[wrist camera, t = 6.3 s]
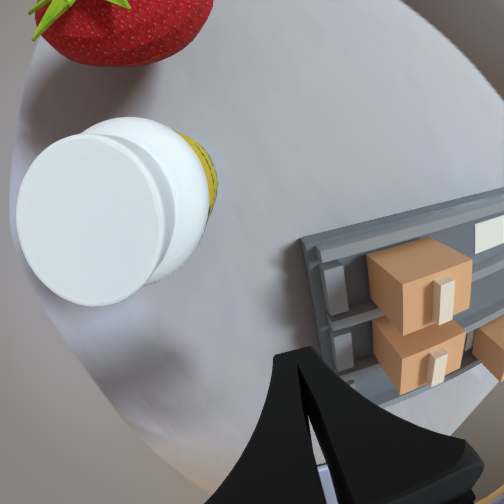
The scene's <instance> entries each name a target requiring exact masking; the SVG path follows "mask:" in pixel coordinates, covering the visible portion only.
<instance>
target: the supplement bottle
mask: <svg viewBox="0 0 504 504" xmlns="http://www.w3.org/2000/svg"><path fill="white" fill-rule="evenodd" d="M217 188H218V181H217V174H216V170H215V167H214V164H213V162H212V160H211V158H210V156H209V155H208V153H207V152H206V151H205V150H204V148H203V147H201V146H200V145H199V144H198V143H197V142H196V141H194V140H193V139H191V138H189V137H188V136H186V135H184V134H182V133H180V132H178V131H176V130H174V129H172V128H170V127H168V126H166V125H164V124H161V123H159V122H156V121H153V120H150V119H145V118H139V117H120V118H114V119H109V120H105V121H102V122H100V123H97V124H95V125H93V126H91V127H89V128H88V129H86V130H85V131H83V132H82V133H80V134H77V135H72V136H69V137H66V138H63V139H61V140H59V141H57V142H55V143H53V144H52V145H50V146H49V147H47V148H46V149H45V150H44V151H42V152H41V153H40V154H39V155H38V156H37V157H36V159H35V160H34V161H33V163H32V164H31V165H30V167H29V169H28V170H27V172H26V174H25V176H24V178H23V181H22V183H21V187H20V190H19V194H18V199H17V206H16V225H17V233H18V237H19V241H20V245H21V248H22V251H23V253H24V255H25V257H26V260H27V262H28V264H29V265H30V267H31V268H32V270H33V271H34V273H35V274H36V276H37V277H38V278H39V279H40V280H41V281H42V282H43V283H44V285H45V286H47V287H48V288H49V289H50V290H51V291H53V292H54V293H55V294H57V295H59V296H60V297H62V298H64V299H66V300H68V301H70V302H73V303H76V304H79V305H84V306H93V307H98V306H107V305H112V304H115V303H118V302H120V301H123V300H125V299H127V298H129V297H130V296H132V295H133V294H134V293H136V292H137V291H138V290H139V289H141V288H142V287H143V286H146V285H149V284H153V283H156V282H158V281H160V280H162V279H164V278H166V277H168V276H169V275H171V274H172V273H174V272H175V271H176V270H178V269H179V268H180V267H181V266H182V265H183V264H184V263H185V262H186V261H187V260H188V258H189V257H190V256H191V254H192V253H193V251H194V250H195V248H196V247H197V245H198V243H199V241H200V239H201V237H202V235H203V233H204V231H205V228H206V224H207V222H208V219H209V216H210V214H211V212H212V209H213V206H214V203H215V200H216V196H217Z"/></svg>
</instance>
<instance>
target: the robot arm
mask: <svg viewBox="0 0 504 504" xmlns="http://www.w3.org/2000/svg"><path fill="white" fill-rule="evenodd" d="M308 416H309V419H310V422H311V424H312V427H313V429H314V432H315V435H316V437H317V440H318V442H319V445H320V447H321V450H322V453H323V455H324V458H325V460H326V463H327V464H326V465H322V466H318V467H317V464H316V461H315V457H314V453H313V448H312V441H311V434H310V427H309V420H308ZM483 469H484V463H483V461H482V459H481V458H480V456H479V455H478V453H477V452H476V451H475V450H474V449H473V448H472V447H471V446H470V445H469V443H468V442H467V441H466V440H464V439H460V438H455V437H451V436H447V435H443V434H440V433H436V432H433V431H431V430H428V429H425V428H422V427H419V426H417V425H415V424H413V423H410V422H408V421H406V420H404V419H402V418H399V417H397V416H395V415H393V414H392V413H390V412H388V411H386V410H384V409H383V408H381V407H379V406H378V405H376V404H375V403H373V402H371V401H370V400H368V399H367V398H366V397H364V396H363V395H361V394H360V393H359V392H357V391H356V390H355V389H354V388H352V387H351V386H350V385H349V384H347V383H346V382H345V381H344V380H343V379H342V378H341V377H340V376H338V375H337V374H336V373H335V372H334V371H333V370H332V369H331V368H330V367H329V366H328V365H327V364H326V363H325V362H324V360H323V359H322V358H321V357H320V356H319V355H318V353H317V352H316V351H315V349H314V348H313V347H311V346H308V347H304V348H301V349H297V350H293V351H289V352H285V353H281V354H277V355H275V356H274V357H273V369H272V376H271V381H270V386H269V390H268V394H267V397H266V401H265V404H264V407H263V410H262V413H261V415H260V418H259V421H258V423H257V426H256V428H255V430H254V432H253V434H252V436H251V439H250V441H249V443H248V444H247V446H246V448H245V450H244V451H243V453H242V455H241V457H240V458H239V460H238V462H237V463H236V465H235V466H234V468H233V469H232V470H231V472H230V473H229V475H228V476H227V477H226V479H225V480H224V481H223V483H222V484H221V485H220V487H219V488H218V489H217V490H216V491H215V493H214V494H213V495H212V496H211V497H210V498H209V499H208V500H207V501H206V502H205V503H204V504H474V502H473V501H474V500H475V499H476V498H475V495H474V493H473V491H472V490H471V488H472V487H473V486H474V484H475V483H476V481H477V480H478V478H479V477H480V475H481V474H482V472H483ZM489 504H504V493H503V494H502V495H501V496H499V497H498V498H496V499H495V500H493V501H492V502H491V503H489Z"/></svg>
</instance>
